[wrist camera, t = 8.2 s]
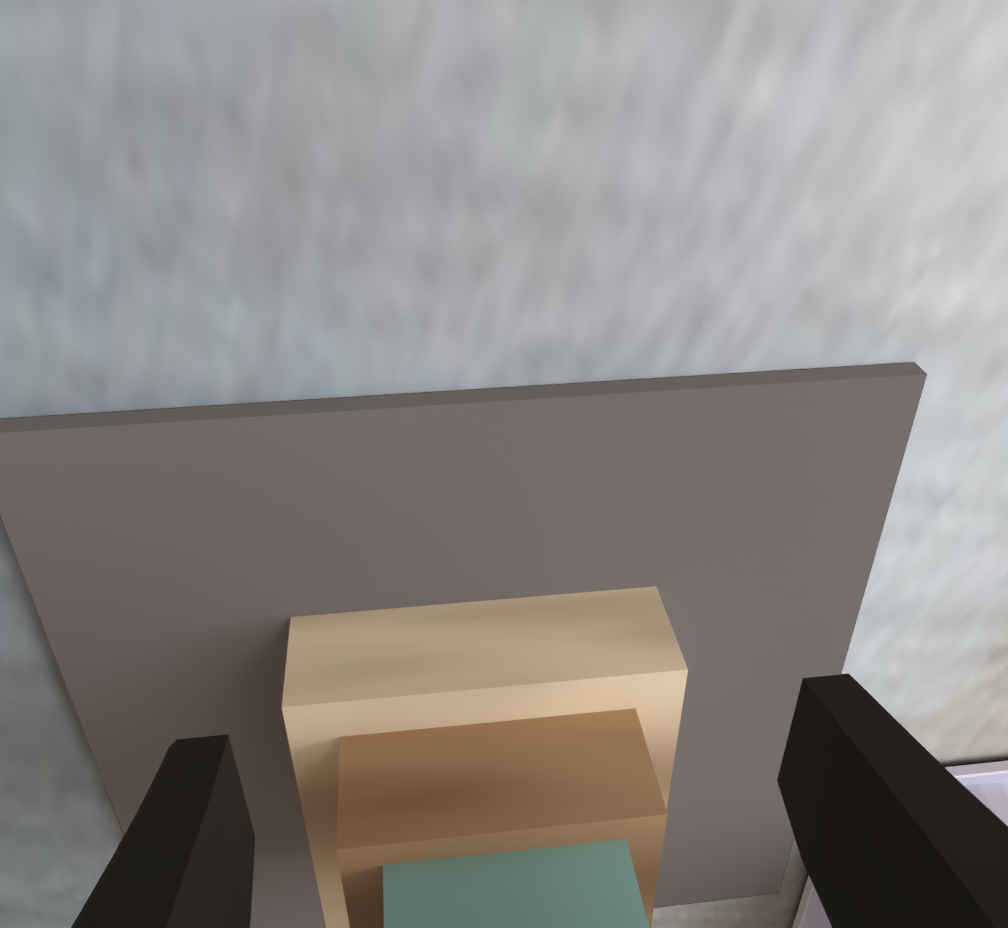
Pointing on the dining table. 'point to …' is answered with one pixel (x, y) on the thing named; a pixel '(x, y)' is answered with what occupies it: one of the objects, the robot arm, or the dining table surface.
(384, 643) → the birch slab
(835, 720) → the robot arm
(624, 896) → the teal block
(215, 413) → the charcoal mat
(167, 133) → the dining table surface
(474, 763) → the walnut slab
